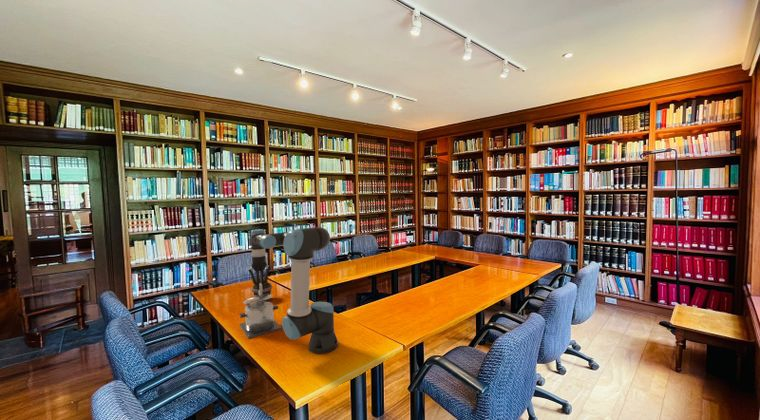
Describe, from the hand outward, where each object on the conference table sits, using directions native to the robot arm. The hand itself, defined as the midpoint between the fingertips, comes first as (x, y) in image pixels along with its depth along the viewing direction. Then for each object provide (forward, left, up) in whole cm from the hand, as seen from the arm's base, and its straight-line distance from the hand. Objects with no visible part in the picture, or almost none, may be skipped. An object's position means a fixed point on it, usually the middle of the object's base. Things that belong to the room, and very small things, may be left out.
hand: (260, 294), depth 183 cm
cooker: (+5, 0, -22) cm, 22 cm away
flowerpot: (+54, -15, -22) cm, 60 cm away
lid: (+2, 0, -3) cm, 4 cm away
